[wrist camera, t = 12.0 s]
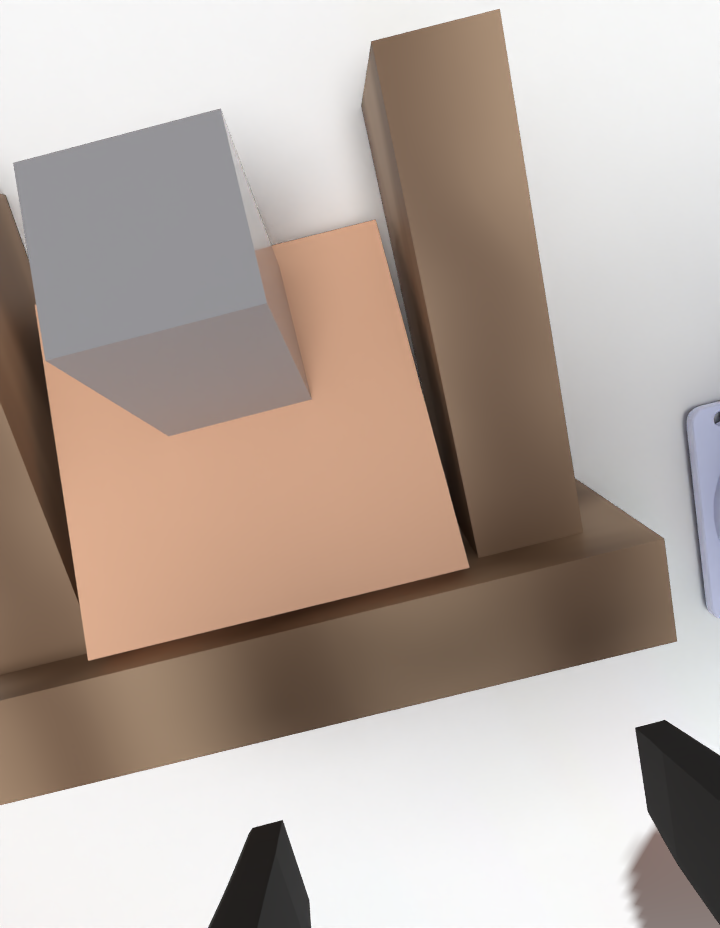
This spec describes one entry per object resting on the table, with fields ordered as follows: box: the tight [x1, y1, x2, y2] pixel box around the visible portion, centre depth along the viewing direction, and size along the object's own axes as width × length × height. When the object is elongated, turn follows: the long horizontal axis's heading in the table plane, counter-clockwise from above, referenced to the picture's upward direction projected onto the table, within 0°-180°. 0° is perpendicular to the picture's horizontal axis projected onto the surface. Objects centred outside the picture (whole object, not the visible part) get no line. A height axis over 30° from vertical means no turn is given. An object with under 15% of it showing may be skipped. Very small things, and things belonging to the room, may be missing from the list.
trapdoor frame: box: [0, 9, 677, 805], centre depth 17 cm, size 20×16×6 cm
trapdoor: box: [35, 220, 469, 661], centre depth 17 cm, size 10×10×1 cm
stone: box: [13, 109, 312, 436], centre depth 14 cm, size 4×4×6 cm
